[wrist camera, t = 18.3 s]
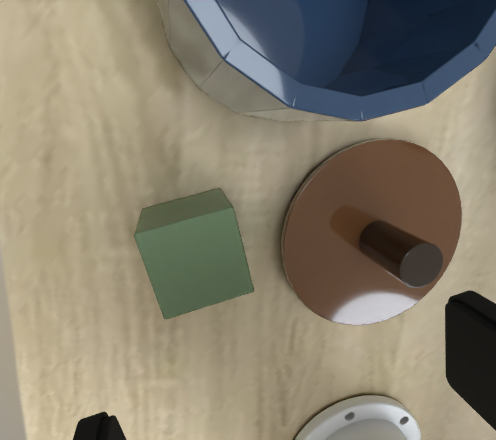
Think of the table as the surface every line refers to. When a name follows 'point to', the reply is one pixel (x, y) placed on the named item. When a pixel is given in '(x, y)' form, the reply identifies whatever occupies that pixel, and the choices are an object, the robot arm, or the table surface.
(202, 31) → the crock
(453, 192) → the lid
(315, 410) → the table surface
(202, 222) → the block
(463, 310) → the robot arm
